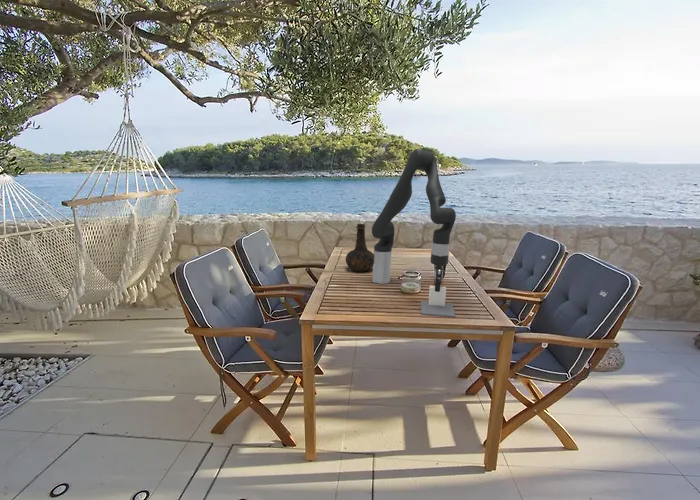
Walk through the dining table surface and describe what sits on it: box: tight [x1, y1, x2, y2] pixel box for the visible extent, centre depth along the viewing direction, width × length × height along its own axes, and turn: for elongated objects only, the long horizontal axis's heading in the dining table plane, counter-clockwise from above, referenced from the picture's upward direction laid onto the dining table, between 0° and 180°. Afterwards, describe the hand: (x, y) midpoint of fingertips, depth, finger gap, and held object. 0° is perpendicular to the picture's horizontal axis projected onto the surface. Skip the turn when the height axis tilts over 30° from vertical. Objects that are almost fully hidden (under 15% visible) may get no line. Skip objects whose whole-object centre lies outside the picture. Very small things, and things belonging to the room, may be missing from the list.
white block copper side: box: [428, 285, 447, 306], centre depth 174 cm, size 7×4×8 cm, turn 81°
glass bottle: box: [345, 223, 374, 273], centre depth 231 cm, size 18×18×28 cm
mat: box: [420, 300, 456, 318], centre depth 170 cm, size 14×16×1 cm
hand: (436, 288), depth 173 cm, fingers open, 8 cm apart
